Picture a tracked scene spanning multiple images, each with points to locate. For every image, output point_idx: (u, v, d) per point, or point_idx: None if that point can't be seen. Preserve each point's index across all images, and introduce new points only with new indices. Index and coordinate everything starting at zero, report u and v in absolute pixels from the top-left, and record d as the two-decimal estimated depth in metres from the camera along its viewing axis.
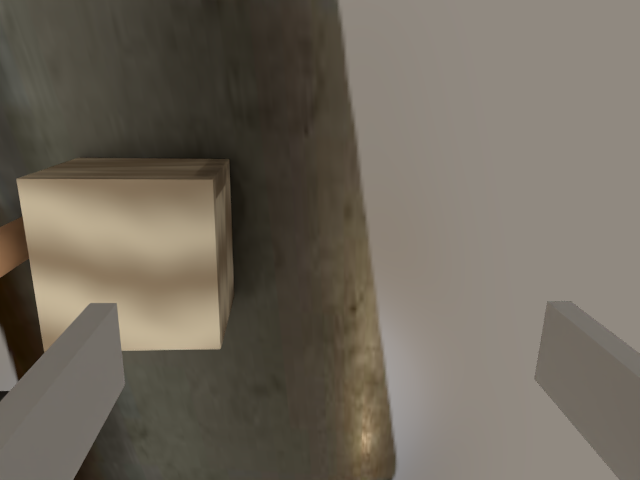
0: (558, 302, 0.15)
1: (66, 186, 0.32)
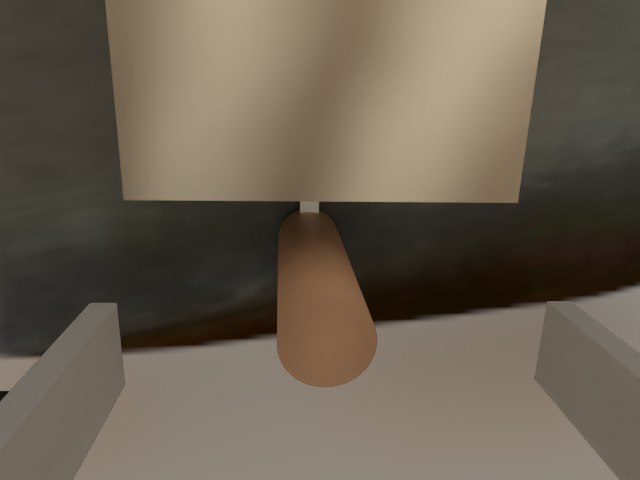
0: (558, 302, 0.15)
1: (131, 96, 0.14)
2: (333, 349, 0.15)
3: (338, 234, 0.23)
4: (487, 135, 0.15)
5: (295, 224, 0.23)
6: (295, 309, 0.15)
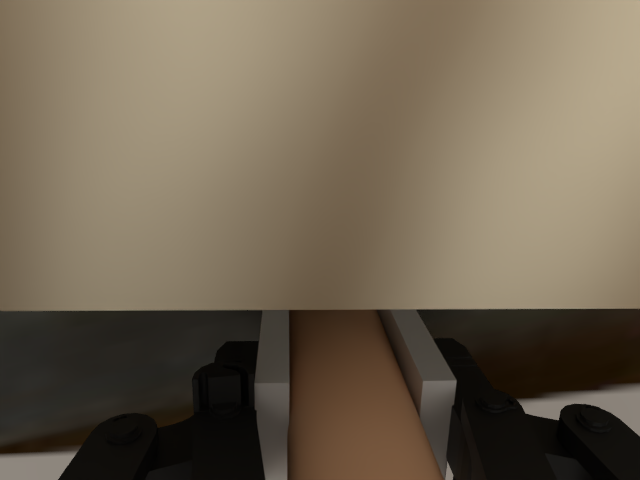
0: None
1: (1, 117, 0.07)
2: None
3: None
4: None
5: None
6: None
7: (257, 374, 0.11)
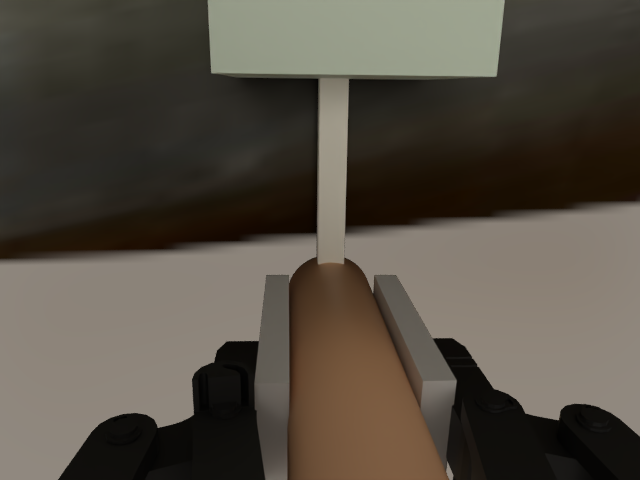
0: (383, 276, 0.17)
1: None
2: None
3: (373, 297, 0.16)
4: None
5: (312, 285, 0.16)
6: None
7: (257, 374, 0.11)
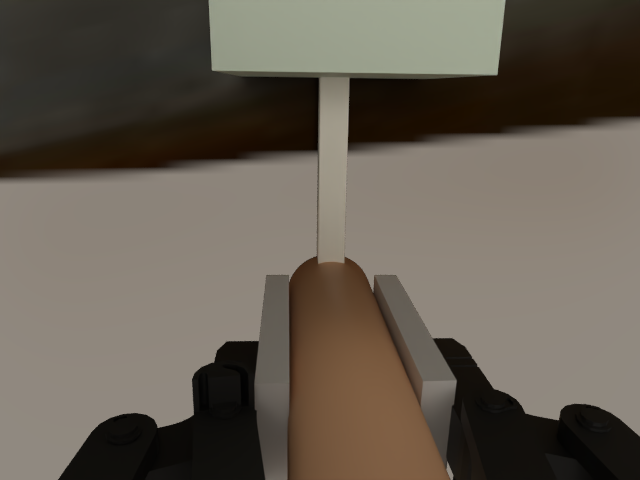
0: (383, 276, 0.17)
1: None
2: None
3: (374, 296, 0.16)
4: None
5: (312, 284, 0.16)
6: None
7: (257, 374, 0.11)
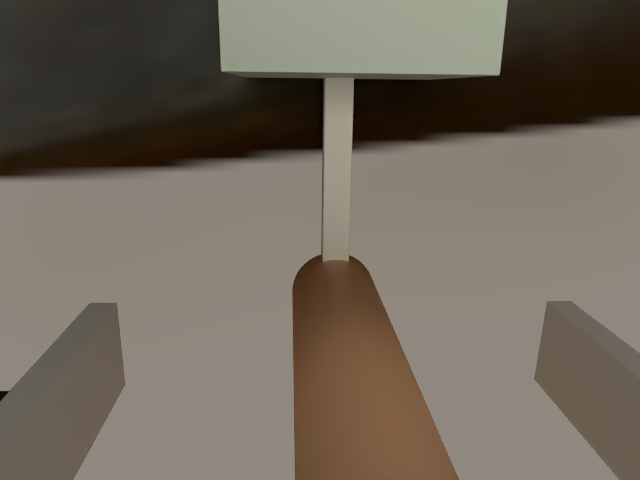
0: (558, 302, 0.15)
1: None
2: None
3: (378, 294, 0.16)
4: None
5: (317, 282, 0.16)
6: None
7: None
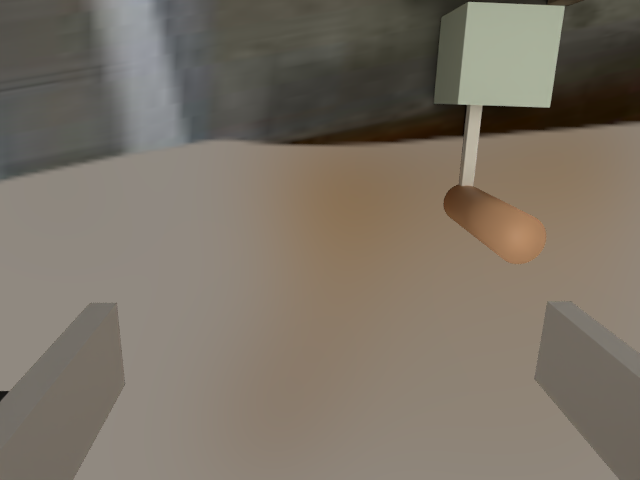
0: (558, 302, 0.15)
1: None
2: (523, 243, 0.30)
3: None
4: None
5: (464, 191, 0.37)
6: (507, 220, 0.29)
7: None
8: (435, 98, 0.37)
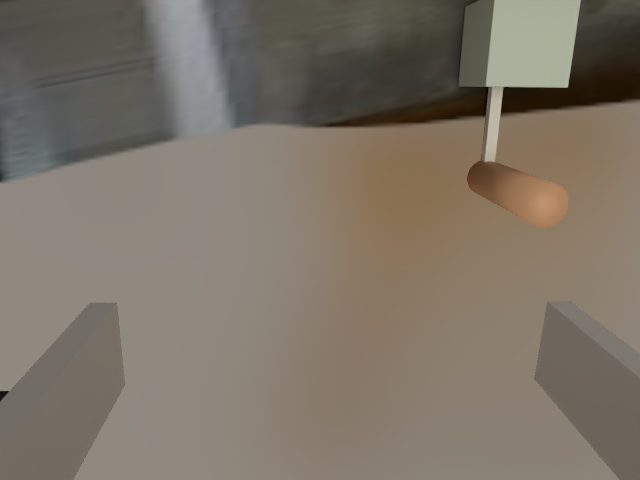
0: (558, 302, 0.15)
1: None
2: (548, 208, 0.33)
3: None
4: None
5: (488, 166, 0.41)
6: (534, 188, 0.33)
7: None
8: (460, 81, 0.41)
